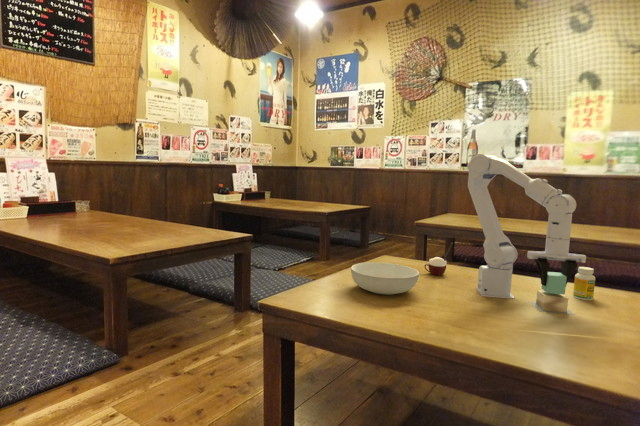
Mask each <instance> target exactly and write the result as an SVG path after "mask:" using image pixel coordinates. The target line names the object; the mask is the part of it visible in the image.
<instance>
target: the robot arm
mask: <svg viewBox="0 0 640 426" xmlns="http://www.w3.org/2000/svg"><path fill="white" fill-rule="evenodd" d="M466 167H467V169H468V177H467V189H468V190H469V195H470V196H471V200H472V203H473V206H474V209H475V212H476V214H477V218H478V220H479V223H480V227H481V228H482V231H483V235H484V238H485V240H484V242H483V249H484V254H483V258H484V261H485V262H486V265H480V266H479V267H478V268H479V269H478V275H477V288H476V290H477V291H478V294H479V295H480V296H481V297H485V298H486V297H488V298H489V297H490V298H500V299H511V300H513V299H515V296H514V295H513V294H512V292H511V289H512V279H513V269H514V263H515V262H516V260H517V259H518V255H519V254H518V253H519V252H518V250H517V248H516V247H515V246H514V244H512V242H511V240H510V238H509V237H508V236H507V235H506V234H504V231H503V228H502V225H501V222H500V220H499V218H498V217H499V216H498V214H497V211H496V208H495V206H494V203H493V200H492V198H491V194H490V192H489V189H488V186H489V184H490V182H491V181H492V180H493V179H494V178H495V177H496V176H497V175H502V176H503V177H505V178H507V179H509V180H510V181H511V182H513V183H515V184H517V185H518V186H521V187H522V188H523V189H524V193H525V195H526V196H528V197H529V198H531V199H532V200H533V201H535V202H537V203H538V204H539V205H540V206H542V207H544V208H545V209H546V211H547V214H548V218H547V219H548V221H547V226H546V227H547V228H546V238H545V248H544V250H542V251H540V250H539V251H538V250H537V251H535V250H528V251H527V254H526V258H527V259H529V260H534V263H535V264H536V267H537V269H538V270H537V271H538V272H539V278H540V284H541V286H542V285H543V286H546V283H547V274H548V272H549V268H550V265H551V264H550V263H549V262H548V260H549V261H560V264H561V265H560V266H561V267H560V268H561V272H560V273H562V274H563V275H565V276H566V277H567V279H566V286H567V284H568V282H569V280H570V279H571V276H572V275H573V273H574V271H575V270H576V269H577V268H578V267H579V266H578V263H582V264H585V263H586V262H587V255H585V254H582V253H581V254H579V253H570V241H571V232H572V221H573V218H572V217H573V213H574V212H575V211H576V208H577V206H578V205H577V201H576V200H575V198H574V197H573V196H572V195H571V194H568V193H563V190H562V189H560V188H558V189H557V188H555V187H553V186H552V185H550V184H549V183H548V182H549V181H548V180H547V179H545V178H531V177H530V176H528V175H527V174H525V173H524V172H523V171H521V170H520V169H519V168H517V167H515V165H513V164H511V163H510V162H509V161H507V160H506V159H503V158H501V157H500V156H498V155H495V154H483V153H477V154H475V155H474V156H472V158H471V159H470V160H469V162H468V164H467V166H466Z"/></svg>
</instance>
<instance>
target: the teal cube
mask: <svg viewBox="0 0 640 426" xmlns="http://www.w3.org/2000/svg"><path fill="white" fill-rule="evenodd" d="M566 279H567V277H566V276H565V275H563V274H562V273H561V272H555V271H548V274H547V283H546V286H543V285H542V284H541V290H543V291H545V292H547V293H553V294H563V295H566V287H567V285H566Z"/></svg>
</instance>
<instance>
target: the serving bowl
mask: <svg viewBox="0 0 640 426" xmlns="http://www.w3.org/2000/svg"><path fill="white" fill-rule="evenodd" d="M350 273H351V277H352V280H353V282H354V283H355V284H356V285H357V286H359V287H360V288H362V289H363V290H365V291H367V292H368V291H369V292H371V293H373V294H377V295H389V296H390V295H396V294H397V295H398V294H402V293H406V292H408V291H410V290H412V288H414V286H416V284H417V282H418V280H419V278H420V277H419V276H420V272H419V270H417V269H416V268H413V267H410V266H406V265H402V264H397V263H393V262H392V263H391V262H378V261H376V262H370V261H369V262H359V263H355V264H353V265H352V266H351V267H350Z"/></svg>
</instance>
